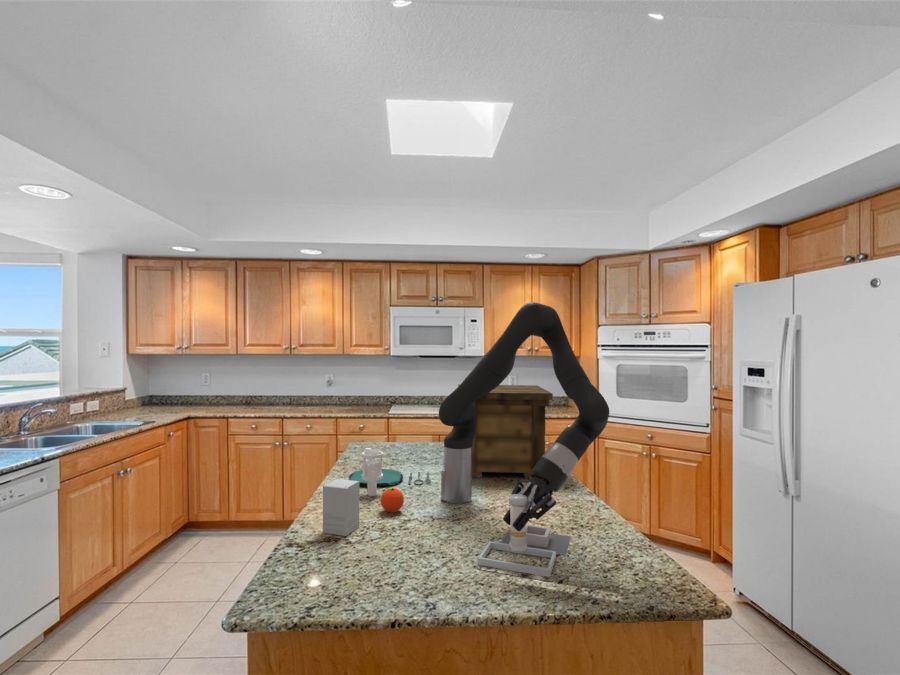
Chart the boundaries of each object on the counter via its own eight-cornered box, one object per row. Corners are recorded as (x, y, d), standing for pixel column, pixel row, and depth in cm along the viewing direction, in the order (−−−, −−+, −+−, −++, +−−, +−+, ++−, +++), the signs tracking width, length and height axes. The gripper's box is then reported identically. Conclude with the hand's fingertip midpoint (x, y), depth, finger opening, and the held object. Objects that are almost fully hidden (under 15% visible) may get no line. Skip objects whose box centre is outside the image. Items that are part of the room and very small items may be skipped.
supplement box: (360, 526, 133) (360, 480, 133) (345, 537, 126) (346, 488, 126) (336, 523, 136) (337, 478, 136) (321, 533, 129) (322, 485, 129)
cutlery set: (353, 473, 188) (353, 467, 188) (430, 474, 189) (430, 468, 189) (344, 489, 168) (344, 482, 168) (430, 490, 170) (430, 484, 170)
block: (499, 549, 119) (499, 534, 119) (509, 532, 131) (509, 518, 131) (565, 560, 114) (565, 544, 114) (570, 541, 125) (570, 526, 125)
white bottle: (507, 551, 110) (507, 498, 110) (511, 544, 113) (511, 493, 114) (525, 554, 108) (525, 500, 108) (528, 547, 112) (528, 495, 112)
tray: (477, 569, 109) (477, 558, 109) (489, 551, 118) (489, 541, 118) (549, 582, 103) (550, 570, 103) (555, 562, 113) (556, 551, 113)
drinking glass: (374, 490, 166) (375, 446, 167) (386, 494, 161) (387, 449, 162) (357, 494, 162) (357, 449, 162) (369, 499, 157) (370, 452, 157)
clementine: (373, 510, 146) (373, 487, 146) (391, 505, 151) (391, 482, 151) (390, 517, 141) (391, 492, 141) (408, 511, 146) (408, 488, 146)
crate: (457, 458, 215) (458, 384, 215) (536, 459, 215) (537, 385, 215) (457, 480, 180) (458, 392, 180) (551, 481, 180) (552, 393, 180)
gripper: (528, 450, 121) (485, 505, 115) (564, 463, 108) (517, 526, 102) (546, 469, 123) (504, 525, 117) (583, 484, 110) (538, 547, 105)
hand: (510, 525), depth 110 cm, fingers closed on white bottle, 3 cm apart
